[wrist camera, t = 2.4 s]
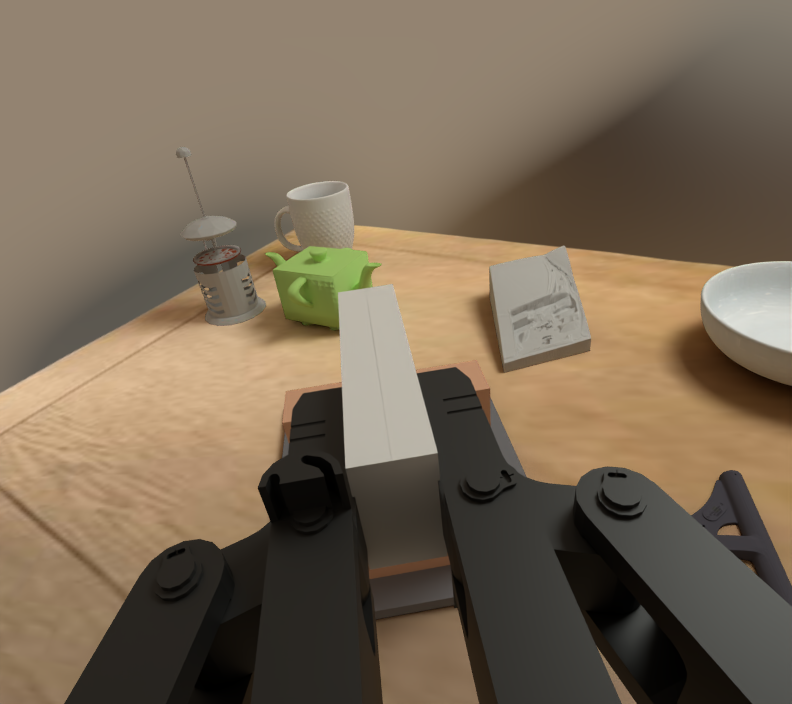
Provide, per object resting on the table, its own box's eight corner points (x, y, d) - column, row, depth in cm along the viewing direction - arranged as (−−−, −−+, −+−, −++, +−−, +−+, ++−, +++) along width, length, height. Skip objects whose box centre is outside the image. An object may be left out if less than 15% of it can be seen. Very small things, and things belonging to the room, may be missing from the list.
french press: (210, 332, 75) (145, 159, 61) (198, 304, 84) (139, 148, 70) (273, 312, 78) (224, 144, 64) (255, 287, 87) (209, 135, 73)
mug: (275, 274, 91) (256, 203, 83) (292, 251, 100) (276, 185, 93) (354, 269, 88) (341, 196, 81) (364, 246, 97) (353, 178, 90)
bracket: (555, 469, 46) (556, 447, 44) (739, 484, 42) (747, 461, 40) (562, 626, 34) (564, 604, 33) (816, 666, 30) (833, 643, 29)
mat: (478, 377, 57) (477, 370, 57) (570, 583, 36) (571, 575, 35) (290, 408, 57) (288, 401, 56) (267, 639, 35) (263, 631, 34)
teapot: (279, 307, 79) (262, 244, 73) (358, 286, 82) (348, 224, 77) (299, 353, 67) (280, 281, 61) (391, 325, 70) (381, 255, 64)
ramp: (579, 389, 54) (584, 348, 51) (445, 366, 61) (442, 328, 58) (611, 280, 74) (616, 246, 72) (508, 271, 81) (508, 240, 78)
